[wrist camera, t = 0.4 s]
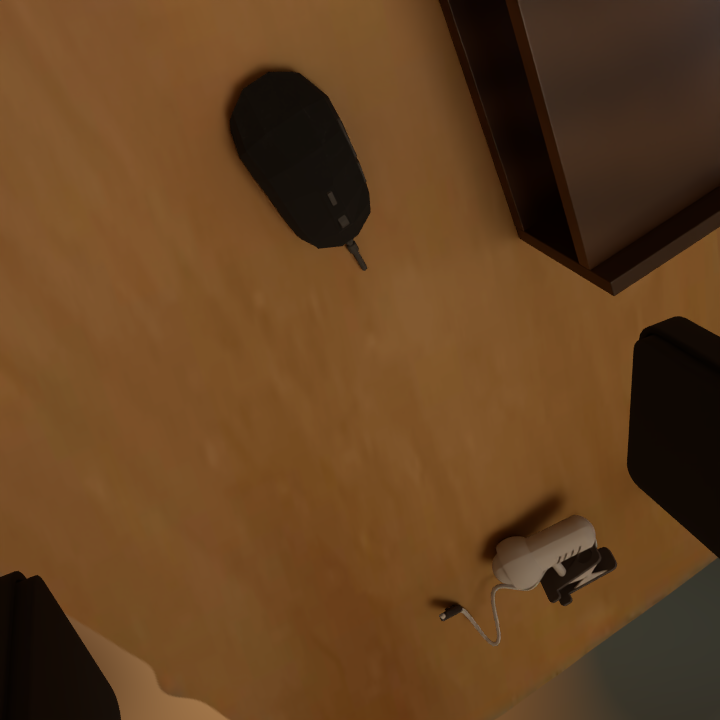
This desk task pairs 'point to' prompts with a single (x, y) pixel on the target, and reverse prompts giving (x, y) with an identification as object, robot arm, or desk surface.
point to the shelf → (599, 124)
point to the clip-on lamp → (547, 564)
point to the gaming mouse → (302, 159)
